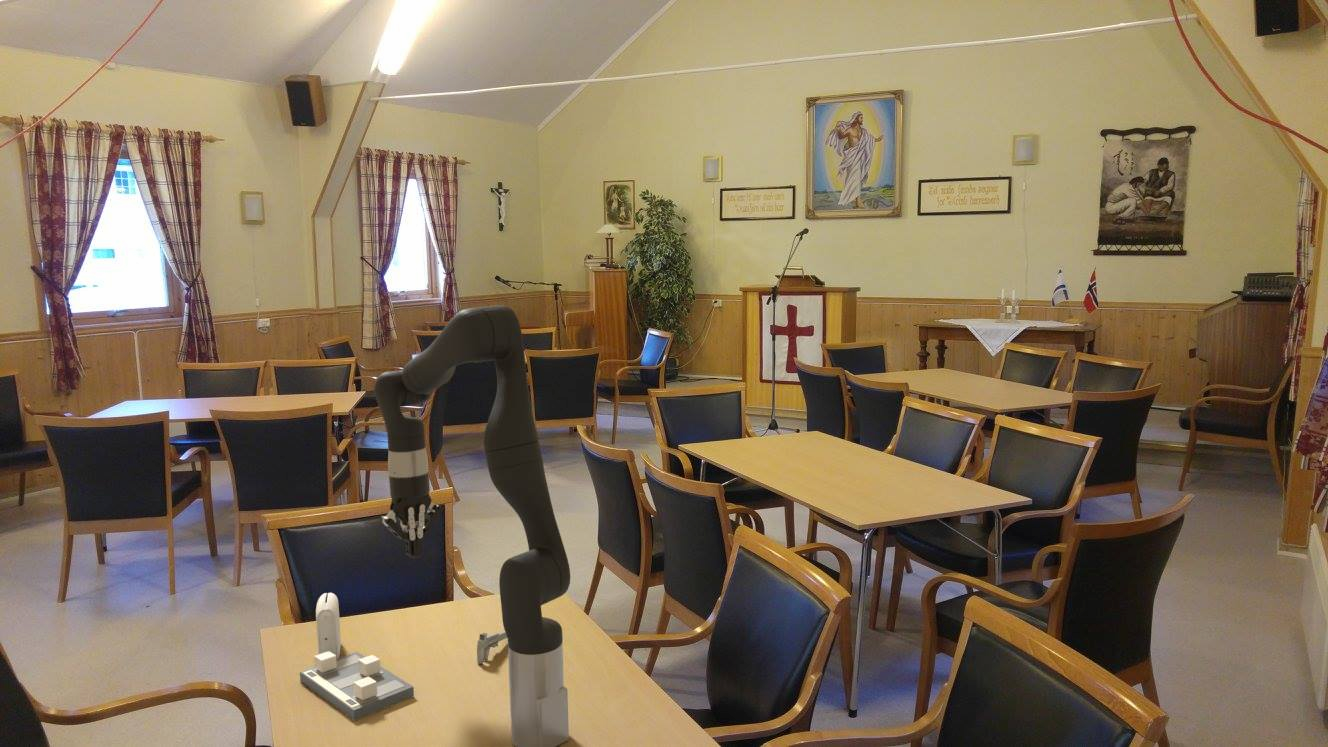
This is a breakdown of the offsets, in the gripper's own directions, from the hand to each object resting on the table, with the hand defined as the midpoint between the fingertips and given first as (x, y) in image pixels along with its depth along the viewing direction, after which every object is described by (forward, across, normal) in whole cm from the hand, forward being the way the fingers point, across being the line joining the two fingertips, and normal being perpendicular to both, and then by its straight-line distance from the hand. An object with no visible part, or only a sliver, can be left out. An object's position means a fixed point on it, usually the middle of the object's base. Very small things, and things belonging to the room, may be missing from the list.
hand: (414, 556), depth 178 cm
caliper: (+24, +18, -3) cm, 30 cm away
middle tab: (+21, -10, +3) cm, 23 cm away
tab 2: (+21, -15, -5) cm, 27 cm away
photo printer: (+23, -8, +22) cm, 33 cm away
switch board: (+24, -13, +3) cm, 27 cm away
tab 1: (+21, -15, +11) cm, 28 cm away
